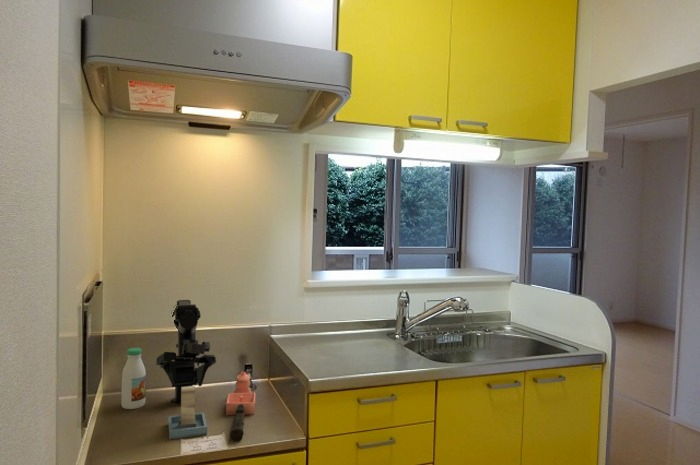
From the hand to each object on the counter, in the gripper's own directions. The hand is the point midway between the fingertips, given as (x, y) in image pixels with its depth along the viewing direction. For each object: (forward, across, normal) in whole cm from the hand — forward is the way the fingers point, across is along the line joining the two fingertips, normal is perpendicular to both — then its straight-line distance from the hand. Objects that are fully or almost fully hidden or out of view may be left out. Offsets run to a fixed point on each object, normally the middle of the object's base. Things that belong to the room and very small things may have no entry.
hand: (187, 385), depth 157 cm
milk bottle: (0, -5, +28) cm, 29 cm away
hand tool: (+15, +14, -6) cm, 21 cm away
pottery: (+5, +24, +6) cm, 25 cm away
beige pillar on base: (+12, +1, +2) cm, 13 cm away
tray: (+13, +1, +3) cm, 13 cm away
